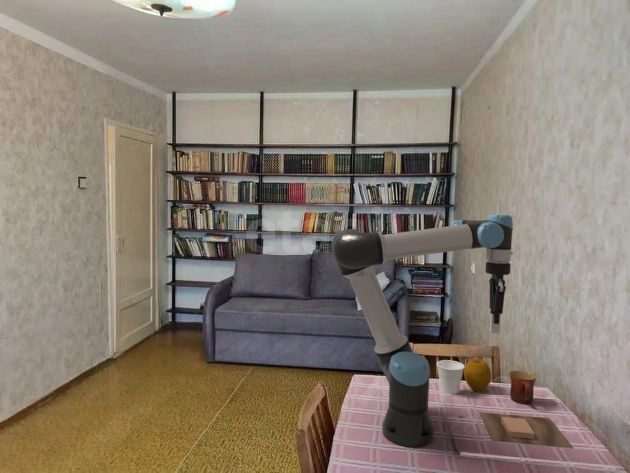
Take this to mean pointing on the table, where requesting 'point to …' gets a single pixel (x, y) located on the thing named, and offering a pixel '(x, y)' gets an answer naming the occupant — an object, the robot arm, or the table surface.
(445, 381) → the cup
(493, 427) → the board
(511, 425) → the tile
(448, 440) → the table surface
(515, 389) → the mug
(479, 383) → the apple
